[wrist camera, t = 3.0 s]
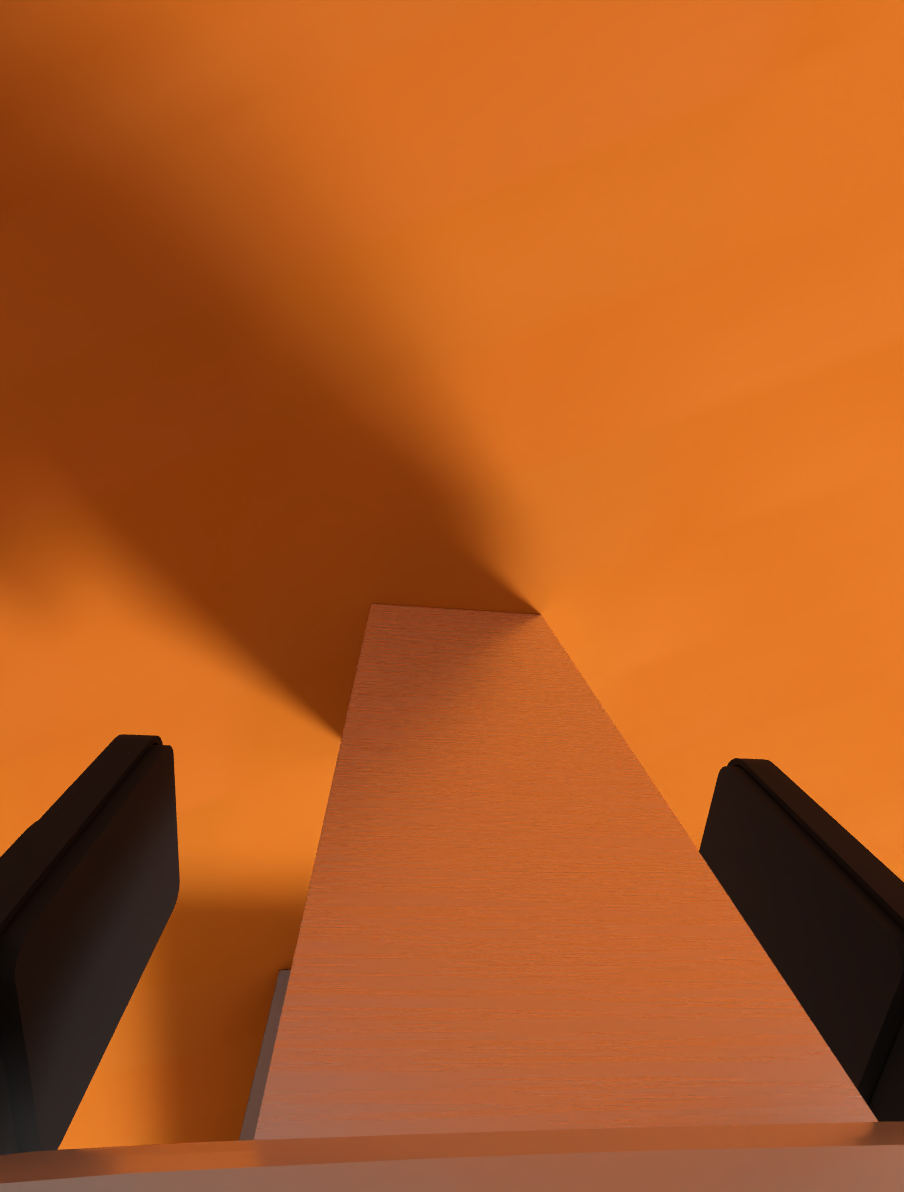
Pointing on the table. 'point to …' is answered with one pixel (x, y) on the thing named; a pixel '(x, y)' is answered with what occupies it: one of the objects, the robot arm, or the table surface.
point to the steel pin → (520, 919)
